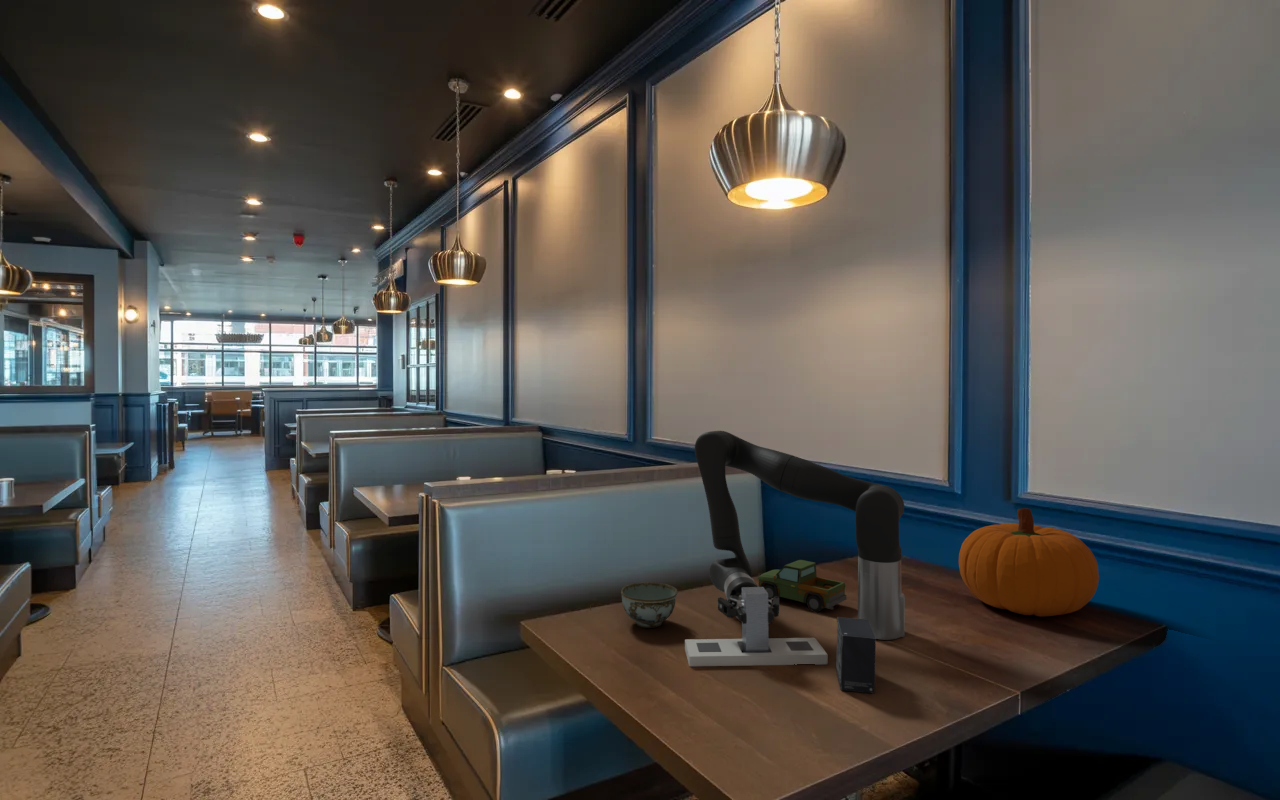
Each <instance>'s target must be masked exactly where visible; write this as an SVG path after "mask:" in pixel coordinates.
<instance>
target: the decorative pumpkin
mask: <svg viewBox="0 0 1280 800" xmlns="http://www.w3.org/2000/svg"><path fill="white" fill-rule="evenodd" d="M1016 514H1017V519H1018V523H1001V524H991V525H986V526H983V527H980V528H978V529H975V530H974V531H972V532H971V533H970V534H969V535H968V536H967V537H966V538H965V539H964V540H963V542H962V543H961V547H960V550H959V554H958V567H959V574H960V576H961V578H962V579H961V580H962V581H963V583H964V584H965V586H966V587H967V588H968V589H969V591H970V592H971V593H972V594H973V595H974V596H975V597H976V598H977V599H978V600H979V601H981V602H983V603H984V604H986V605H988V606H991V607H993V608H997V609H1001V610H1008V611H1010V612H1012V613H1015V614H1019V615H1024V616H1033V615H1034V616H1036V617H1041V618H1042V617H1053V616H1063V615H1066V614H1068V615H1069V614H1072V613H1074V612H1077V611H1079V610H1081V609H1082V608H1083V607H1085V606H1086V605H1087V604H1089V602H1090V601H1091V600H1092V599H1093V597H1094V596H1095V594H1096V592H1097V590H1098V589H1097V588H1098V587H1099V581H1100V575H1099V564H1098V561H1097V559H1096V557H1095V555H1094V553H1093V552H1092V550H1091V549H1090V548H1089V546H1087V545H1086V544H1085V543H1084V542H1083V541H1082V540H1081V539H1080V538H1078V537H1077V536H1076V535H1074V534H1072V533H1070V532H1067V531H1065V530H1062V529H1060V528H1054V527H1046V526H1045V527H1043V526H1040V525H1035V523H1034V517H1033V514H1032V509H1031V508H1028V507H1027V508H1026V507H1023V508H1018V509H1017V512H1016Z"/></svg>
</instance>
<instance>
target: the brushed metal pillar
mask: <svg viewBox="0 0 1280 800" xmlns="http://www.w3.org/2000/svg"><path fill="white" fill-rule="evenodd" d="M742 608H743V609H744V610H745V612H746V615H747V623H746V624H743V623H742V622H741V639H742V649H743V653H769V647H768V638H769V623H768V593H767V591H766V590H765V589H764V587H742Z"/></svg>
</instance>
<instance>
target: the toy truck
mask: <svg viewBox="0 0 1280 800" xmlns="http://www.w3.org/2000/svg"><path fill="white" fill-rule="evenodd" d="M757 580H758V584H757V586H758V587H764V589H765V590H766V591H767V593H768V600H771V599H772V598H773V599H774V597H775V596H777V597H779V598H784V599H788V600H791V601H792V600H793V601H795V602H796V601H797V602H800V603H802V604H806V605H807V608H808V610H810V611H811V612H814V611H815V612H814V613H819V612H821V611H823V609H828V610H834V606H837V605H838V604H840V603H842V602H844V601H846V600H847V594H846V593H845V591H846V590H845V589H846V583H845V582H843V581H838V580H835V579H830V578H825V577H821V576H820V577H819V576H818V575H817V564H816V562H813V561H810V560H809V561H808V560H804V559H798V560H795V561H793V562H790V563H787V564H784V566H783V567H782V568H780V569H771V570H768V571H767V572H764V573H761V574H760V575H759V576H758V577H757Z"/></svg>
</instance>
